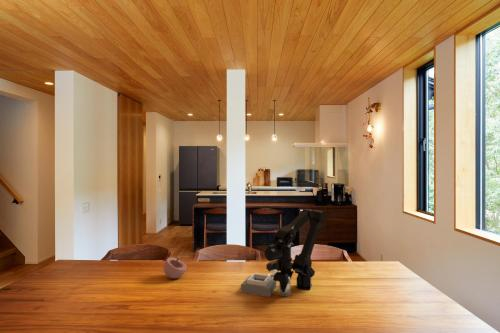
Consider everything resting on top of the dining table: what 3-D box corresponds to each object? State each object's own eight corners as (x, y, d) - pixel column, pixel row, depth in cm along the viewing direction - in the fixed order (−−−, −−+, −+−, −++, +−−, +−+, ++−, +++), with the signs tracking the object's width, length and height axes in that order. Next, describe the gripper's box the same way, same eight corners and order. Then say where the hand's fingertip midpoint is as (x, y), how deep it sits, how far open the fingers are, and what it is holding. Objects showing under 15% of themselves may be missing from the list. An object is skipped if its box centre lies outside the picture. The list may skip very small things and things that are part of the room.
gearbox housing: (276, 286, 153) (276, 274, 152) (269, 297, 141) (269, 284, 141) (249, 283, 157) (249, 271, 157) (241, 292, 146) (241, 280, 146)
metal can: (291, 292, 145) (291, 275, 145) (288, 297, 141) (288, 279, 140) (280, 291, 147) (280, 274, 147) (278, 295, 142) (278, 278, 142)
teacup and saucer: (283, 274, 171) (283, 267, 171) (283, 279, 163) (283, 272, 163) (267, 273, 172) (267, 266, 171) (267, 279, 164) (267, 271, 164)
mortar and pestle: (183, 282, 159) (183, 260, 158) (160, 282, 159) (160, 260, 159) (188, 273, 171) (188, 253, 170) (167, 273, 171) (167, 253, 171)
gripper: (273, 249, 155) (273, 280, 155) (262, 260, 138) (262, 295, 138) (295, 251, 151) (295, 283, 152) (286, 263, 134) (286, 299, 134)
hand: (284, 289), depth 144 cm, fingers closed on metal can, 5 cm apart
